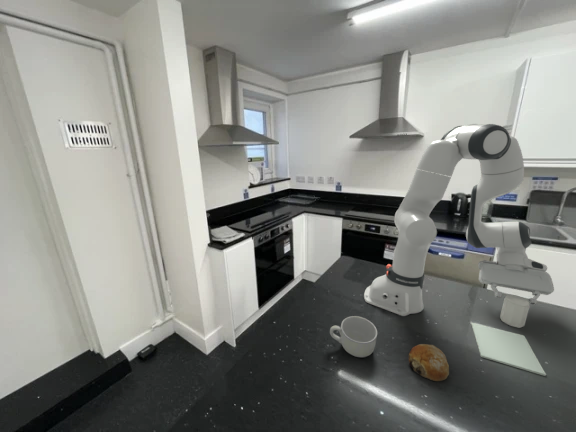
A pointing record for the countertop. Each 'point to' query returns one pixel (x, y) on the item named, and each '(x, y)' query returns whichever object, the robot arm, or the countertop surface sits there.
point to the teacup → (356, 336)
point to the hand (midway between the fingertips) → (515, 300)
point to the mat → (506, 348)
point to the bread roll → (429, 362)
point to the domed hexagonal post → (514, 310)
